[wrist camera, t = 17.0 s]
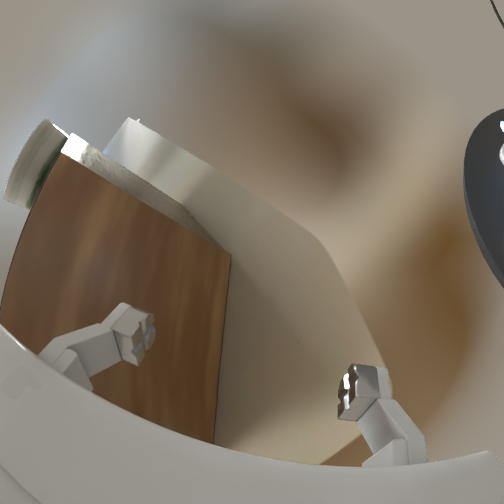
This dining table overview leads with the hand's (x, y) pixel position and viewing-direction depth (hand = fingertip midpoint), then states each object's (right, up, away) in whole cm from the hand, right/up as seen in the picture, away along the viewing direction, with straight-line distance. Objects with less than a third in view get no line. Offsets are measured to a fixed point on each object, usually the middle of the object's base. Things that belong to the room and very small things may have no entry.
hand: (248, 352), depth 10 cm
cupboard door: (-2, -8, +19) cm, 20 cm away
